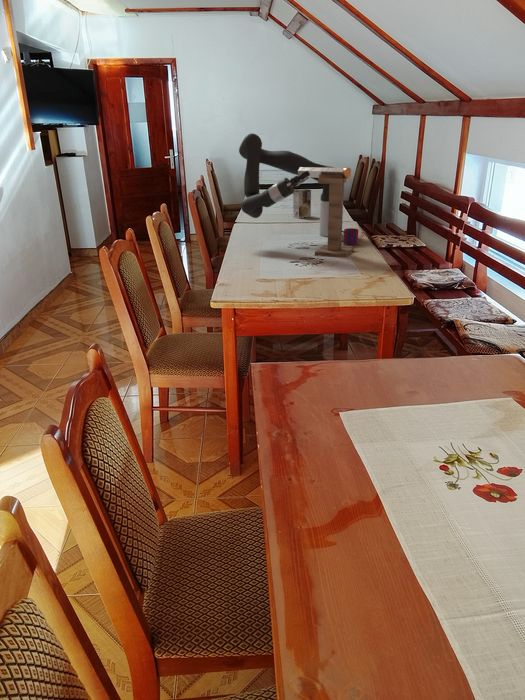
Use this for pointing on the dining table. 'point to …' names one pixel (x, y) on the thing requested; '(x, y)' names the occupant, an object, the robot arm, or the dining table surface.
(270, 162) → the robot arm
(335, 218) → the stand
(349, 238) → the mug
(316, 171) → the rod
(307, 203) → the coffee box
